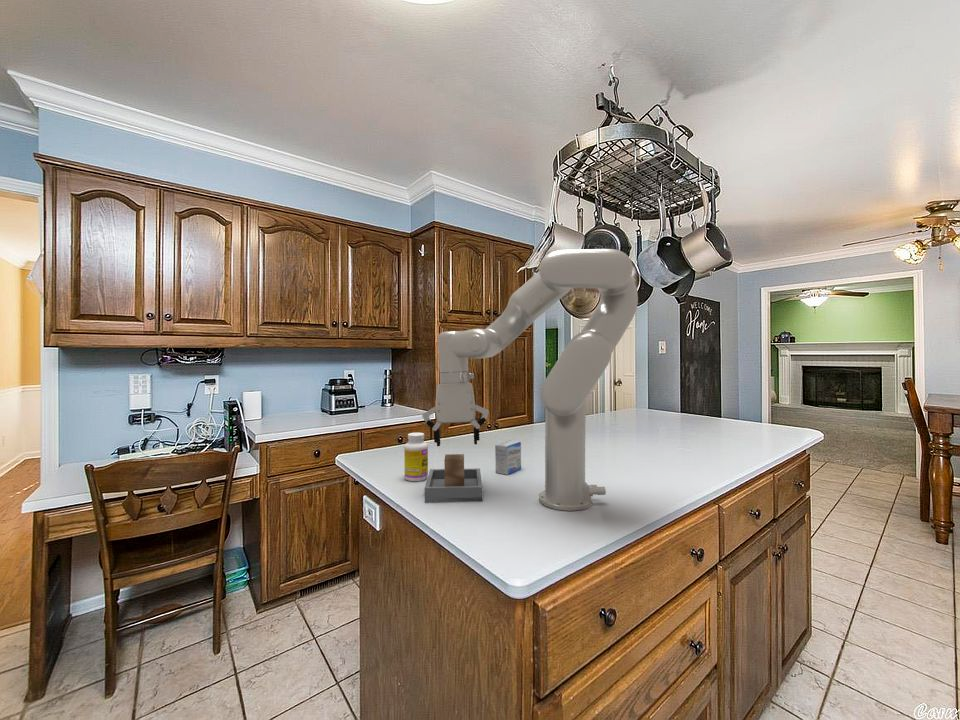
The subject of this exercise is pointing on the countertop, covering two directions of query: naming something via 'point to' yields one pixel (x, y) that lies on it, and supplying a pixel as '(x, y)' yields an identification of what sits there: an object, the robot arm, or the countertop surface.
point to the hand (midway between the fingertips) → (457, 444)
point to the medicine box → (508, 457)
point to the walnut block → (454, 469)
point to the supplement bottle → (416, 458)
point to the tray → (453, 487)
